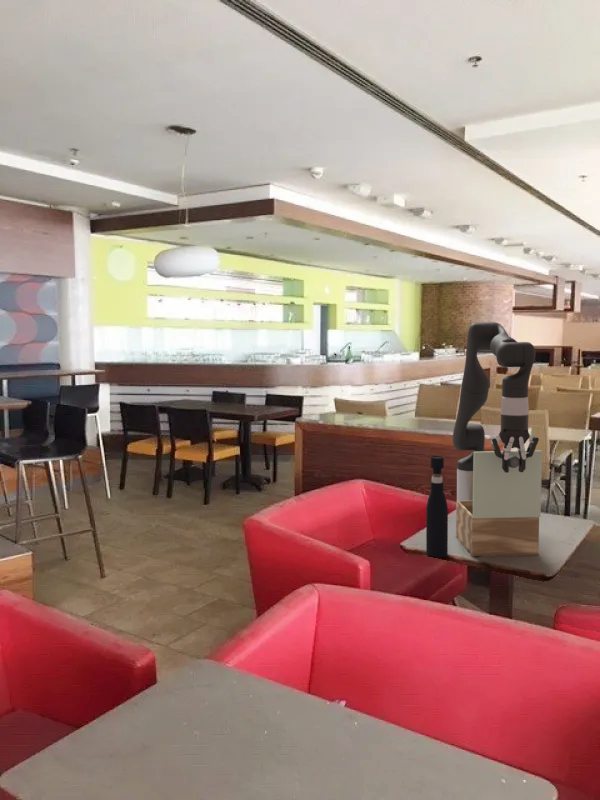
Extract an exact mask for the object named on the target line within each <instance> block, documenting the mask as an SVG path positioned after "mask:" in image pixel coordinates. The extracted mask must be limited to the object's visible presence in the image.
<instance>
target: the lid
mask: <svg viewBox="0 0 600 800" xmlns="http://www.w3.org/2000/svg"><path fill="white" fill-rule="evenodd" d="M500 451H501V454H502V452H503V450H500ZM526 451H527V450H525V453H526ZM519 458H520V457H519V452H518V450H511V452H510V453H509V457H508V460H509V473H506V472H504V470H503V469H502V458H499V457H497V456H496V455H495V452H494V450H491V451H490V450H489V451H487V450H486V451H485V450H484V451H483V452H474V459H473V518H514V517H539V518H540V517H541V513H542V512H541V511H542V509H541V508H542V507H541V506H542V477H543V476H542V475H543V474H542V473H543V472H542V471H543V450H541V449H540V450H539V449H537V450H536V449H535V451H534V453H533V456H532V457H529V458H527V459H526V469H525V470H524V471H523V472H519V464H520V460H519Z"/></svg>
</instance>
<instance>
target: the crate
mask: <svg viewBox="0 0 600 800" xmlns="http://www.w3.org/2000/svg"><path fill="white" fill-rule="evenodd" d="M455 505H456V508H455V511H456V515H455V516H456V518H455V521H456V522H455V523H456V524H455V525H456V527H455V528H456V529H455V533H456V534H455V535H456V536H455V537H456V539H458V541H459V542H460V544H462V546H463V547H464V548H465V550H466V549H467V550H466V551H467V552H468V554H469V555H470V554H471V555H472V556H482V557H510V556H511V557H513V556H514V557H515V556H516V557H517V556H522V557H523V556H539V551H540V550H539V545H540V517H514V518H473V501H457V500H456V504H455ZM471 555H470V556H471ZM472 556H471V557H472Z"/></svg>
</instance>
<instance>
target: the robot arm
mask: <svg viewBox="0 0 600 800" xmlns="http://www.w3.org/2000/svg"><path fill="white" fill-rule="evenodd" d="M479 351H480V352H482V351H485V352H488V351H489V352H491V353H492V355H494V356H495V358H496V362H497V365H499V366H500V367H504V368H519V369H518V371H517V372H516V373H514V374H510V375H507V376H504V377H503V378H502V381H501V382H502V383H501V388H502V389H501V392H502V393H501V401H500V431H499V433H498V435H497V436H496V435H495V436H494V437H493V436H492V437H491V436H490V438H489V441H490V444H491V447H492V449H493V450H492V451H494V452H495V455H496V456H497V457H499V458H502V469H503V470H504V472H506V473H509V460H508V457H509V453H510V452H511V451H512V449H516V451H518V452H519V457H520V458H519V460H520V464H519V472H523V471H524V470H525V469H526V459H527V458H529V457H532V456H533V453H534V451H535V450H536V448H537V446H538V443H539V440H540V439H539V437H537V436H534V435H530V432H529V412H530V409H529V407H530V406H529V404H530V403H529V380H530V375H531V371H532V368H533V365H534V362H535V360H536V349H535V346H534V345H533V344H532V343H531V342H529V341H519V342H518V341H517V340H516V339H515V338H513V337H511V336H509V334H508V332H507V330H506V329H505V328H504V326H503V325H502V324H500V323H499V322H494V321H493V322H492V321H487V322H486V321H482V322H480V321H479V322H478V321H477V322H472V323H471V324H470V325H469V327H468V331H467V339H466V350H465V363H464V369H463V375H462V381H461V386H460V393H459V403H458V409H457V410H458V411H457V415H456V419H455V423H454V427H453V432H452V445H453V448H454V449H455V450H457V451H471V453H470V454H469V455H467V456H465V457H463V458H460V459H458V460H457V463H456V501H473V459H474V452H483V451H485V440H486V437H485V436H486V435H485V429H484V426H482V425H481V424H469V422H470V421H471V419H472V418H473V417H474V416H475V415H476V414H477V413H478V412H479V410H481V409H482V408H483V406H484V405H485V404H486V402H487V400H488V395H489V390H490V384H491V383H490V380H489V377H488V375H487V373H486V372H485V370H484V369H483V366H481V363H480V361H479V359H478V352H479ZM500 440H501V442H502V443H503V445H502V446H503V447H502V450H501V449H500V448H501V447H500V446H499V444H500ZM527 441H528V446H527V449H526V448H525V444H526V443H527ZM501 451H503V452H502V454H501ZM525 451H526V453H525Z"/></svg>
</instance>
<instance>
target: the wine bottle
mask: <svg viewBox="0 0 600 800" xmlns="http://www.w3.org/2000/svg"><path fill="white" fill-rule="evenodd" d="M444 459H445V458H444V456H441V455H432V456H430V468H431V469H432V476H431V482H430V492H429V495H428V498H427V502H426V510H425V511H426V512H425V513H426V515H425V516H426V521H425V523H426V524H425V525H426V527H425V529H426V531H425V532H426V533H425V536H426V537H425V539H426V541H425V545H426V547H425V548H426V550H425V551H426V556H429V557H430V558H436V559H437V558H446V557H447V556H448V553H449V551H448V549H449V547H448V545H449V544H448V542H449V541H448V539H449V537H448V536H449V535H448V534H449V529H448V528H449V526H448V523H449V522H448V521H449V516H448V515H449V508H448V507H449V506H448V502H447V498H446V496H445V492H444V482H443V481H444V480H443V479H444V478H443V476H442V474H443V473H442V470H443V469H444V464H445V463H444V462H445V461H444Z"/></svg>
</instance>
